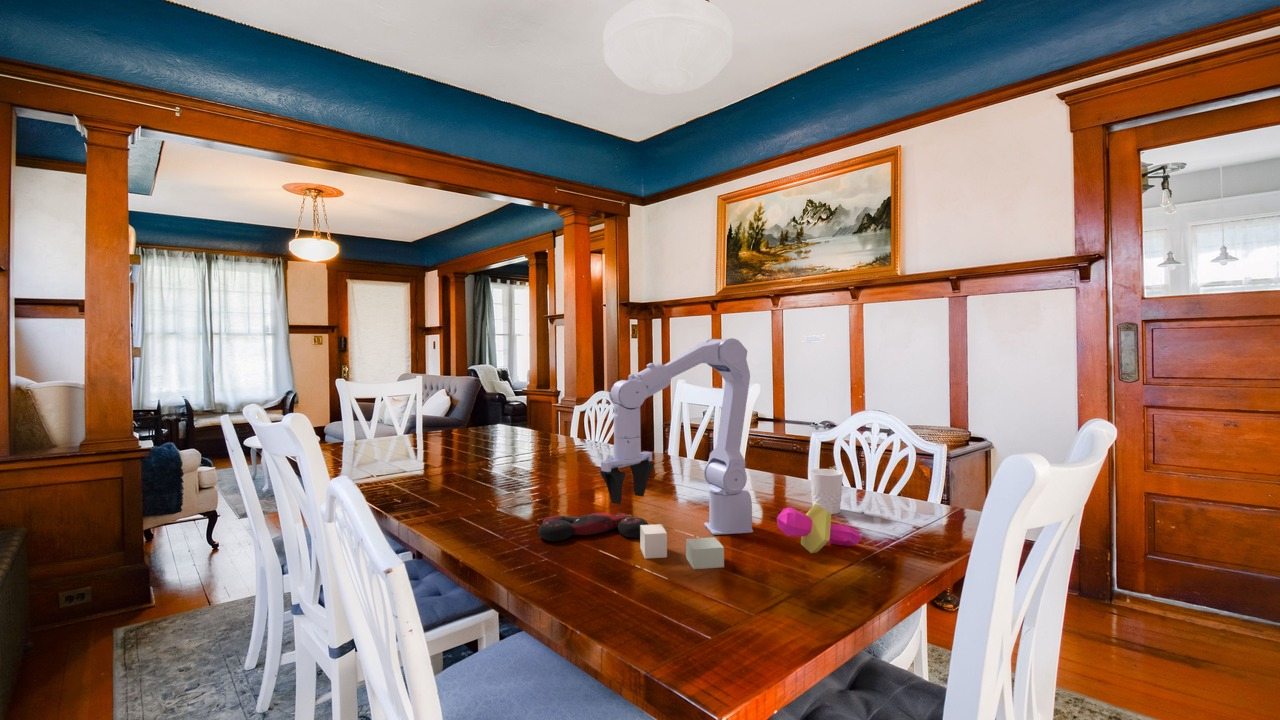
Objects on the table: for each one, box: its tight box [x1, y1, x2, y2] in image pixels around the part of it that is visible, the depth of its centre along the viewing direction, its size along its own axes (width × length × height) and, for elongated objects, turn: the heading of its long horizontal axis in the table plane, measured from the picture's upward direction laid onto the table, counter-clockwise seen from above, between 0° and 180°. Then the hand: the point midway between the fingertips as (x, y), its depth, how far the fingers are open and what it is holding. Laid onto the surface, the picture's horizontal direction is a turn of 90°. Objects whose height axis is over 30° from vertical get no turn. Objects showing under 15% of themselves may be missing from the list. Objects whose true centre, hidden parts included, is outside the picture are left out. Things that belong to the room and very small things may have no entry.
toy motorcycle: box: [537, 511, 650, 542], centre depth 135 cm, size 25×5×16 cm
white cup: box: [810, 468, 843, 515], centre depth 149 cm, size 8×8×10 cm
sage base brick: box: [685, 536, 725, 570], centre depth 115 cm, size 6×6×4 cm
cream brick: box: [639, 523, 668, 560], centre depth 120 cm, size 4×6×5 cm
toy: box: [776, 503, 863, 554], centre depth 122 cm, size 10×18×10 cm, turn 96°
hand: (628, 499), depth 125 cm, fingers open, 7 cm apart
